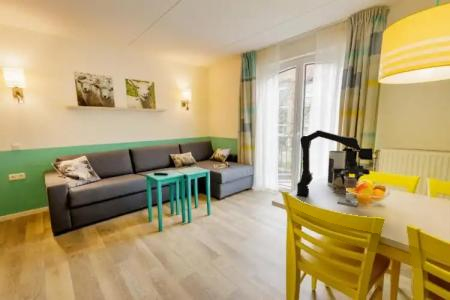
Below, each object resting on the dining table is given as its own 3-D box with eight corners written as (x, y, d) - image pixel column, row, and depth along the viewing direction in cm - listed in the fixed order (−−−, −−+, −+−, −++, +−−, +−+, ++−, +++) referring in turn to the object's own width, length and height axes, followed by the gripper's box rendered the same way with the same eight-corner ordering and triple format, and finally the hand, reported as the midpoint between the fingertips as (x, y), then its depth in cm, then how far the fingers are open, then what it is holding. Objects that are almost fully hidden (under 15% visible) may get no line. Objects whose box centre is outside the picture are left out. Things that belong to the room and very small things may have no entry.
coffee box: (332, 191, 146) (333, 169, 144) (333, 189, 151) (334, 167, 149) (347, 194, 141) (349, 170, 139) (348, 191, 146) (349, 168, 144)
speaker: (325, 183, 165) (327, 149, 161) (339, 183, 164) (341, 149, 160) (330, 187, 155) (332, 152, 151) (345, 187, 154) (348, 152, 150)
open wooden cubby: (341, 184, 130) (342, 175, 129) (352, 184, 129) (353, 175, 128) (345, 187, 124) (345, 178, 123) (356, 188, 123) (357, 178, 122)
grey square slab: (337, 203, 127) (337, 194, 126) (339, 197, 135) (340, 189, 134) (357, 207, 121) (358, 198, 120) (358, 201, 129) (359, 192, 128)
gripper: (337, 161, 118) (335, 188, 121) (375, 162, 114) (372, 190, 117) (332, 157, 129) (330, 182, 132) (366, 158, 125) (364, 183, 127)
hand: (348, 184), depth 127 cm, fingers closed on open wooden cubby, 6 cm apart
